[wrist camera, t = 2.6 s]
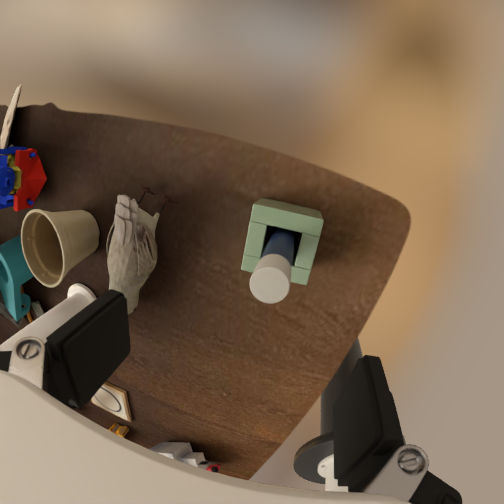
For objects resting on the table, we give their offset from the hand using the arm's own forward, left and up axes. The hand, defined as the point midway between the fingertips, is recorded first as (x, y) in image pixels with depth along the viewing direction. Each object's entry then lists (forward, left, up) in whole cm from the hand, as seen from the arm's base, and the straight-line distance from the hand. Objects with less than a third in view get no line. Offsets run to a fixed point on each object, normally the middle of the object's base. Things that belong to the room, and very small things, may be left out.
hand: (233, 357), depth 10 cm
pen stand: (-1, 0, -20) cm, 20 cm away
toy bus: (+23, +53, -18) cm, 60 cm away
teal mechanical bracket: (+39, +18, -16) cm, 46 cm away
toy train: (+41, -2, -20) cm, 46 cm away
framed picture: (+25, +39, -20) cm, 50 cm away
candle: (+26, +17, -20) cm, 37 cm away
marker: (-1, 0, -20) cm, 20 cm away
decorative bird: (+15, +5, -20) cm, 25 cm away
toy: (+15, +47, -14) cm, 51 cm away
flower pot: (+25, +5, -20) cm, 33 cm away
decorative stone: (+48, -11, -19) cm, 53 cm away
